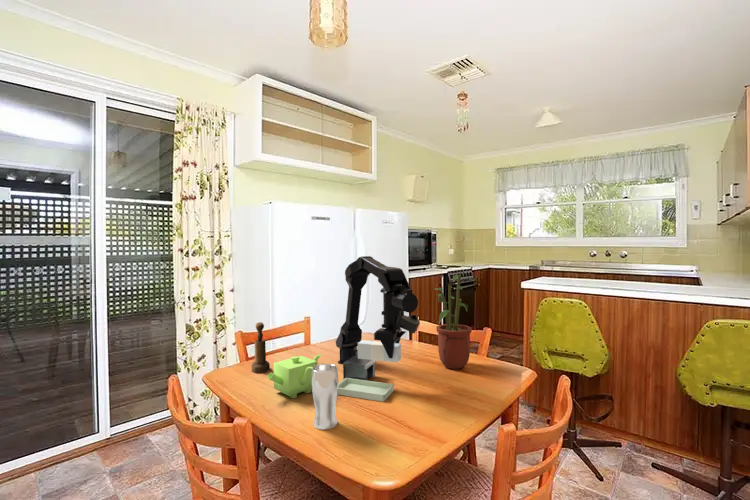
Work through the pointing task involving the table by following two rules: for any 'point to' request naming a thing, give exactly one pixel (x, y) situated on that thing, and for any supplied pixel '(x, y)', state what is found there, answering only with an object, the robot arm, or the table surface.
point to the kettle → (293, 375)
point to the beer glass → (325, 395)
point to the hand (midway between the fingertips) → (392, 356)
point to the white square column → (377, 351)
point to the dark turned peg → (260, 352)
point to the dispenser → (358, 368)
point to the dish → (365, 389)
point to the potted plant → (453, 333)
